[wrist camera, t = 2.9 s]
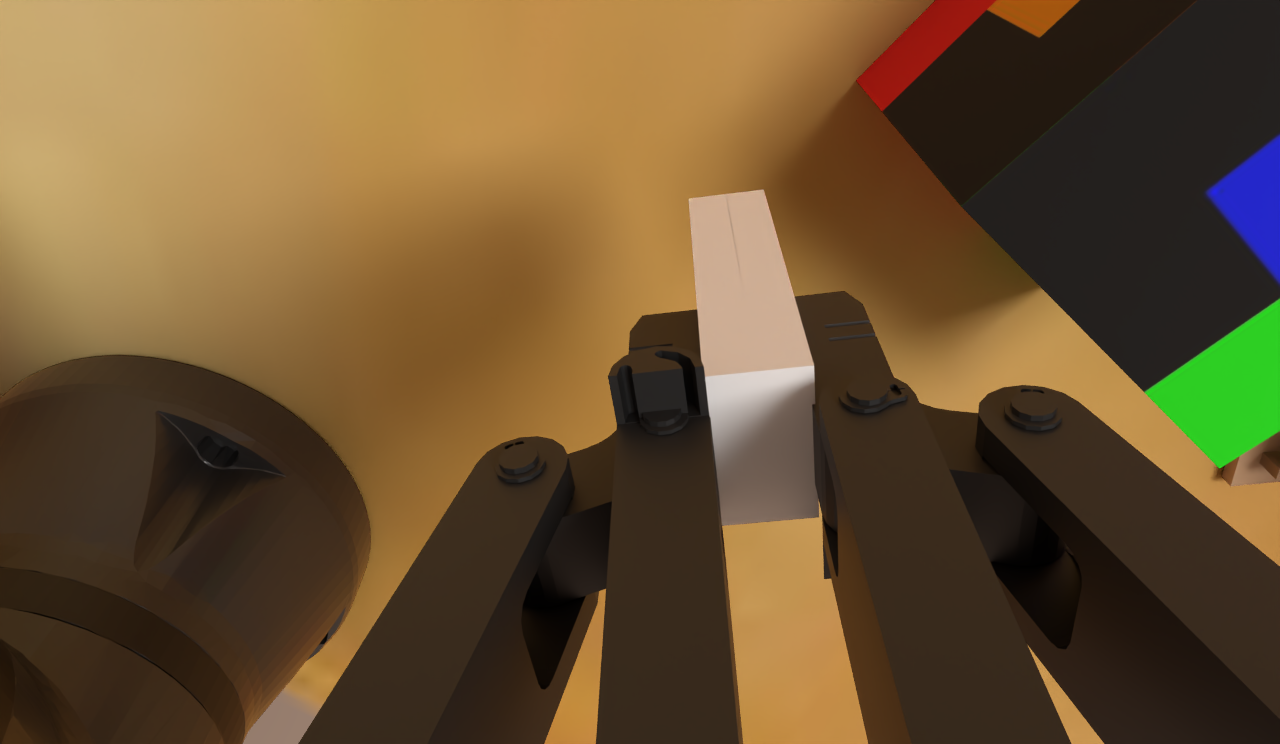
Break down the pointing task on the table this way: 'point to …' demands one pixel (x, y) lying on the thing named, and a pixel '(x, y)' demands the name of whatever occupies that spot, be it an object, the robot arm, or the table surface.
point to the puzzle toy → (1120, 179)
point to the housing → (1256, 464)
